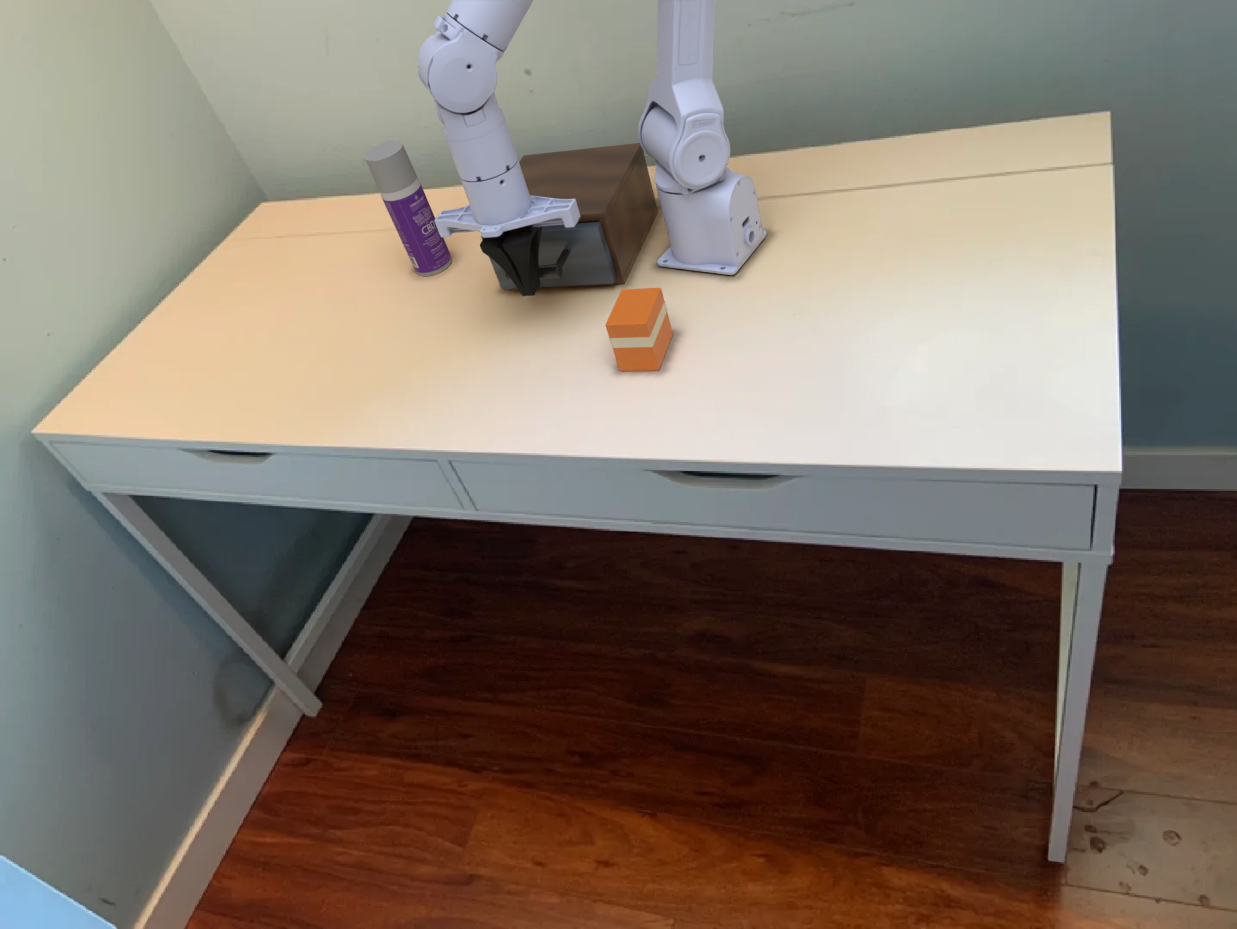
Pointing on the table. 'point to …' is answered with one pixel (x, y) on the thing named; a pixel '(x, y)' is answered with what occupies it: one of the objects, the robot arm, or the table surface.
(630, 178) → the cabinet
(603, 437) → the table surface
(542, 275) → the drawer
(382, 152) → the container
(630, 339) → the snack box
